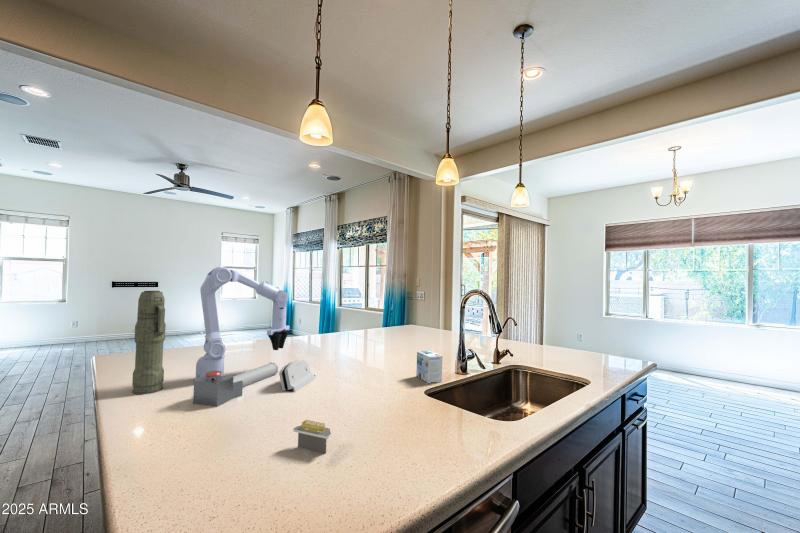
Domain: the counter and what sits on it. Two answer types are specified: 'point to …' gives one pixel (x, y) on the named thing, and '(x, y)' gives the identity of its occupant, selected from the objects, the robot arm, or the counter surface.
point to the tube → (256, 374)
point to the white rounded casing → (295, 375)
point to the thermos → (149, 343)
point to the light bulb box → (429, 366)
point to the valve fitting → (216, 389)
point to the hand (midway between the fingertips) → (278, 349)
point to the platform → (312, 436)
